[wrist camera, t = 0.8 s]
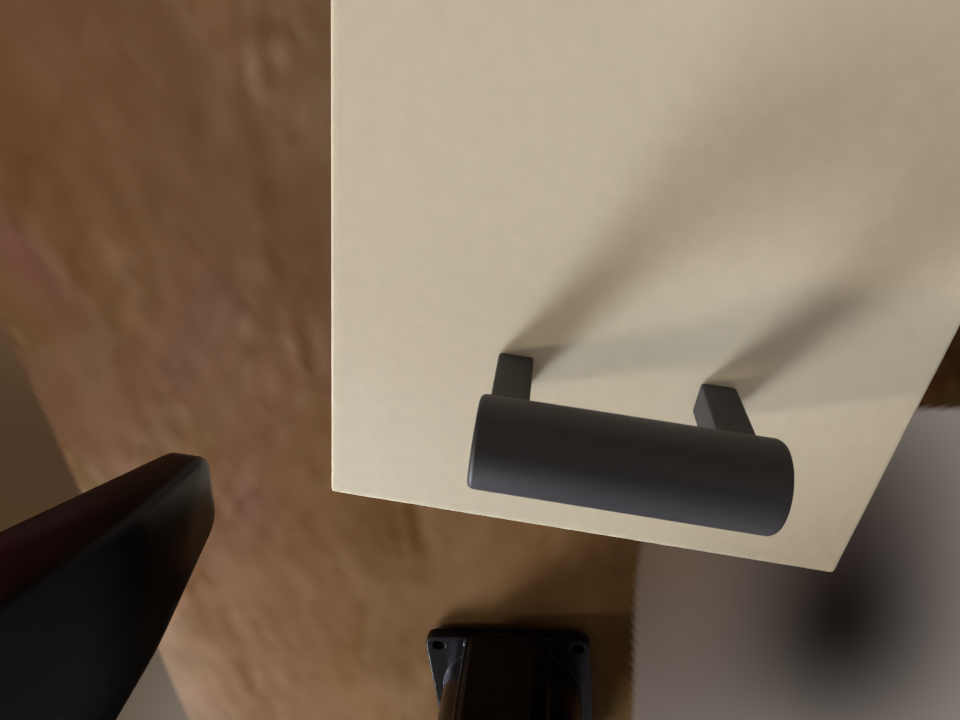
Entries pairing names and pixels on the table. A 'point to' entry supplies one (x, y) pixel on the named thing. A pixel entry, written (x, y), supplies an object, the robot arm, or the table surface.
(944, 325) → the cool box lid
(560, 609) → the table surface
